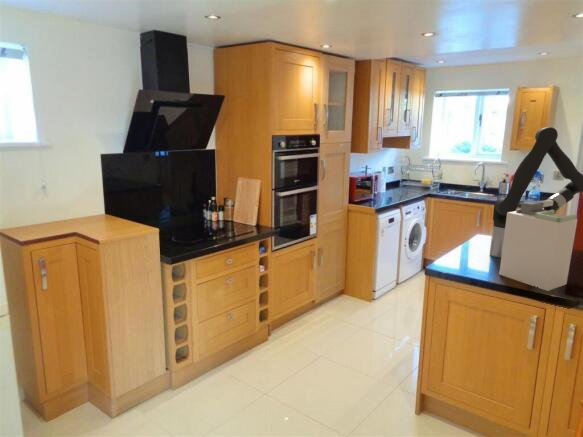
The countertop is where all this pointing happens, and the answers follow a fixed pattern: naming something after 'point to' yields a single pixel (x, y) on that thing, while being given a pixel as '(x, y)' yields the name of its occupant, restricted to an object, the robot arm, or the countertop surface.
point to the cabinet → (538, 248)
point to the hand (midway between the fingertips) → (529, 220)
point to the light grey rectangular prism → (534, 206)
